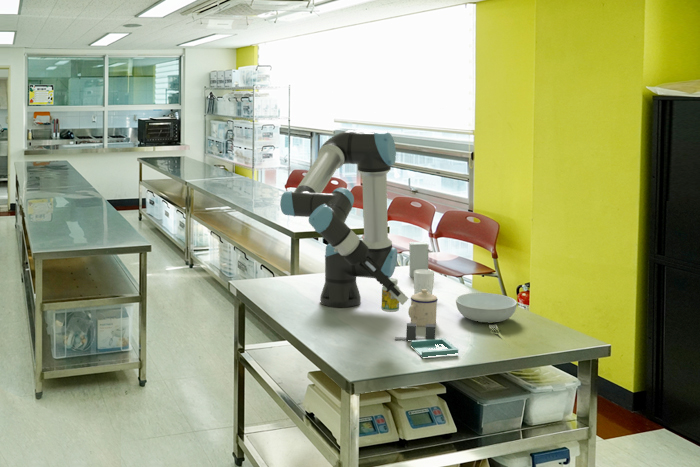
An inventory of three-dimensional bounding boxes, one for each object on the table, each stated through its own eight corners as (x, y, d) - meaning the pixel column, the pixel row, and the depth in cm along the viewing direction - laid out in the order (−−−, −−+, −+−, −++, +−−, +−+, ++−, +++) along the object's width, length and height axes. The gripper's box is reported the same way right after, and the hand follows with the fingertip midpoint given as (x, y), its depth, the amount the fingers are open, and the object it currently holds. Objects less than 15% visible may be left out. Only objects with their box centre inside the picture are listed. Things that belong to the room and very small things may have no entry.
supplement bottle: (401, 311, 217) (403, 280, 215) (386, 313, 215) (387, 282, 213) (394, 306, 222) (395, 276, 220) (378, 308, 220) (379, 278, 218)
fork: (509, 351, 217) (509, 345, 217) (487, 330, 237) (487, 324, 237) (519, 351, 218) (520, 345, 218) (497, 330, 237) (497, 324, 237)
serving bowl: (444, 314, 254) (445, 295, 253) (494, 308, 262) (495, 290, 261) (475, 331, 235) (476, 310, 234) (528, 324, 243) (529, 305, 242)
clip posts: (395, 340, 224) (395, 325, 223) (395, 337, 227) (395, 322, 226) (446, 342, 223) (446, 327, 222) (445, 339, 225) (446, 324, 225)
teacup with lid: (421, 317, 250) (422, 285, 248) (442, 323, 243) (443, 289, 241) (398, 324, 242) (399, 290, 240) (419, 330, 235) (420, 296, 233)
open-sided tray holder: (423, 358, 208) (423, 352, 208) (410, 346, 218) (410, 340, 218) (458, 356, 211) (458, 349, 210) (444, 344, 221) (444, 338, 221)
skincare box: (427, 274, 315) (428, 241, 312) (428, 277, 309) (429, 244, 306) (408, 274, 315) (409, 241, 313) (409, 277, 309) (409, 243, 307)
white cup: (433, 294, 281) (434, 269, 279) (433, 299, 273) (434, 274, 272) (413, 293, 282) (413, 268, 280) (412, 298, 274) (413, 273, 272)
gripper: (335, 250, 221) (385, 299, 227) (349, 263, 203) (402, 316, 210) (352, 233, 221) (401, 283, 228) (368, 244, 203) (420, 297, 210)
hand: (402, 298), depth 219 cm, fingers closed on supplement bottle, 5 cm apart
